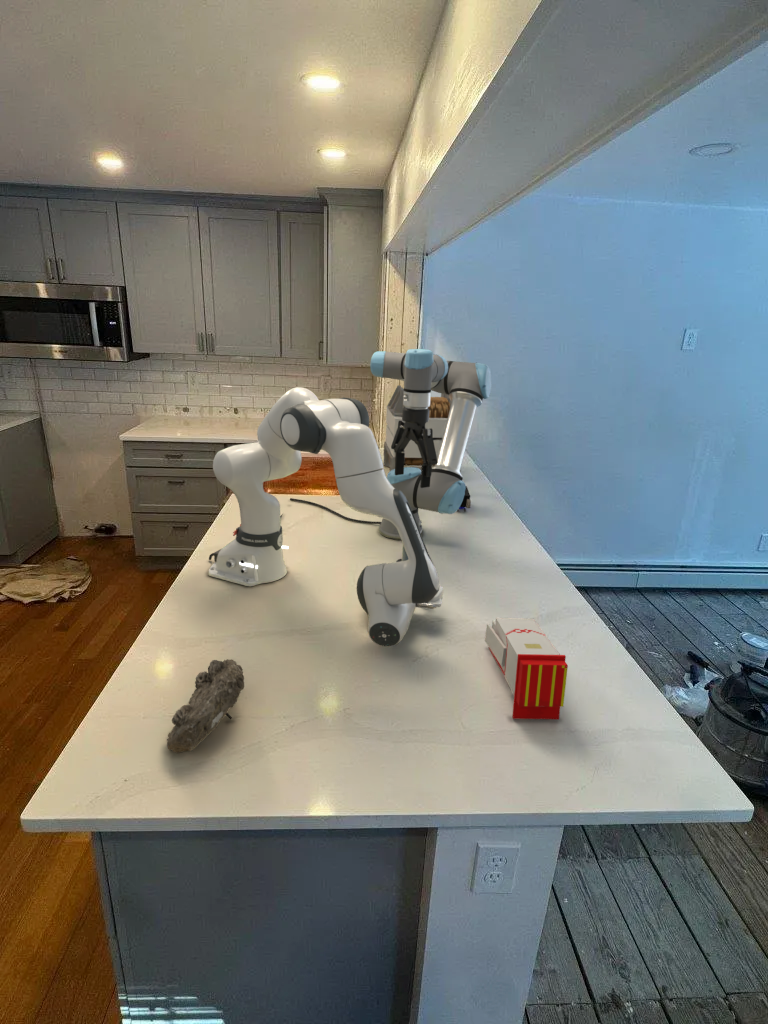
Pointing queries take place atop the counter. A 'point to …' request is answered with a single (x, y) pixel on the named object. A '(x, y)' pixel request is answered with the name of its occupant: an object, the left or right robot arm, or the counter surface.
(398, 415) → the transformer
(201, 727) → the fossil
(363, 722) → the counter surface
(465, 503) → the figurine character
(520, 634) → the toy
